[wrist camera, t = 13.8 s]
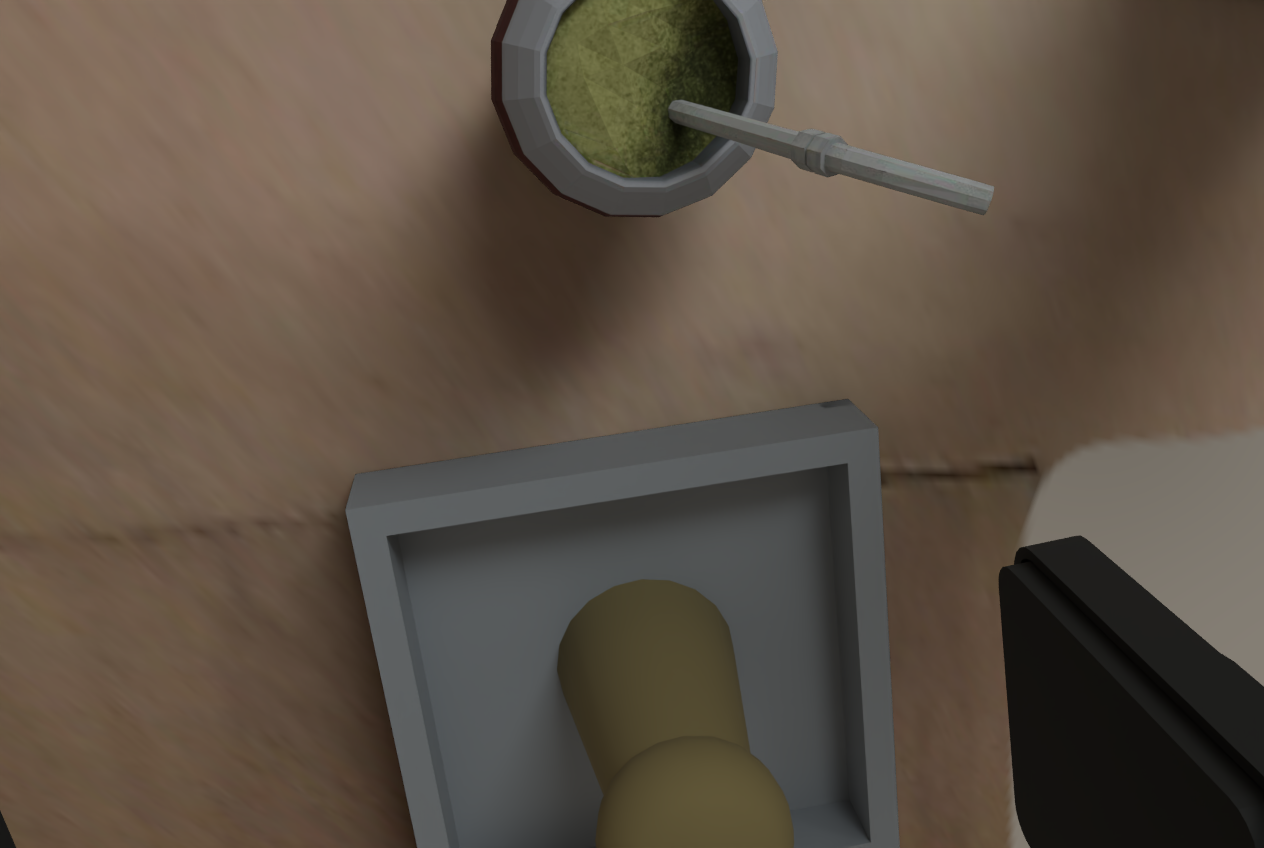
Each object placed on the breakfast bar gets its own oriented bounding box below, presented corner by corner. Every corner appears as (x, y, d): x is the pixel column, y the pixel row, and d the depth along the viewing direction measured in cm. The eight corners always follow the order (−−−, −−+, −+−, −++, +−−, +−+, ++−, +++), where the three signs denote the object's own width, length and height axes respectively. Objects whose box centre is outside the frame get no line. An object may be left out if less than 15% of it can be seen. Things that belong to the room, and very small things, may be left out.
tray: (848, 398, 38) (878, 427, 35) (872, 807, 43) (900, 860, 40) (355, 474, 37) (345, 510, 34) (441, 886, 42) (438, 947, 39)
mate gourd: (450, -5, 33) (430, -44, 19) (710, -110, 33) (888, -228, 19) (550, 241, 35) (598, 372, 21) (791, 144, 35) (1003, 209, 21)
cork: (706, 750, 41) (784, 991, 30) (537, 722, 39) (559, 964, 29) (755, 596, 39) (856, 796, 29) (581, 563, 38) (621, 759, 28)
